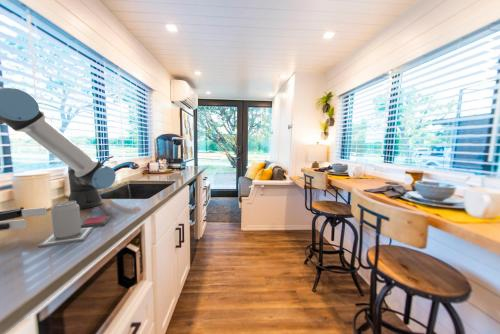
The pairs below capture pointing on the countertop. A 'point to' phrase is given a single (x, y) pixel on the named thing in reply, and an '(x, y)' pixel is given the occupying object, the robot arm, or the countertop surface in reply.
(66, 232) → the grey upright rounded block
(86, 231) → the board
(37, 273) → the countertop surface
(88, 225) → the ink pad
